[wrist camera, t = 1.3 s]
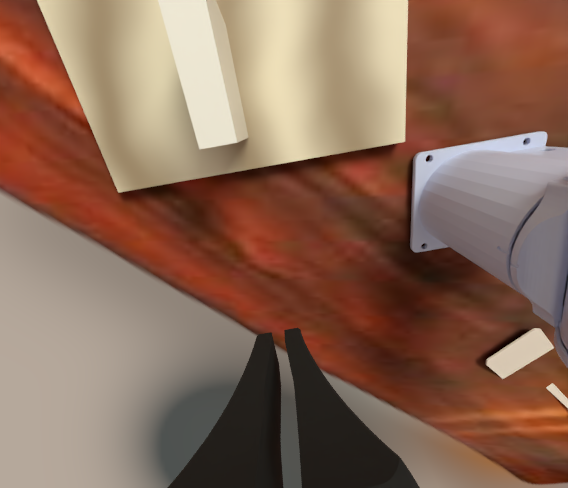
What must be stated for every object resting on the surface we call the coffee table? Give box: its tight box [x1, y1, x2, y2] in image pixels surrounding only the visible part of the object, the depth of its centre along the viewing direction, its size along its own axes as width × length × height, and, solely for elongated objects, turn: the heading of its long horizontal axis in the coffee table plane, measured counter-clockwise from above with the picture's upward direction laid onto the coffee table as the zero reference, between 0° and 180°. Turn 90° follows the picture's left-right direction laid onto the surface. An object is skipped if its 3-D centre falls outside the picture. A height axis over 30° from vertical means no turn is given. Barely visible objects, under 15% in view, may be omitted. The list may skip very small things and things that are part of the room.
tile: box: [158, 0, 249, 150], centre depth 13 cm, size 2×6×7 cm, turn 10°
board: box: [37, 0, 408, 193], centre depth 16 cm, size 20×14×1 cm
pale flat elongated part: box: [485, 328, 568, 408], centre depth 32 cm, size 6×29×2 cm, turn 48°
